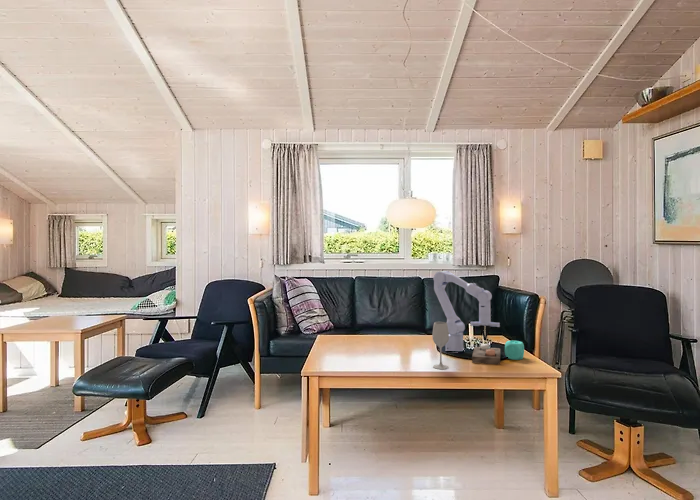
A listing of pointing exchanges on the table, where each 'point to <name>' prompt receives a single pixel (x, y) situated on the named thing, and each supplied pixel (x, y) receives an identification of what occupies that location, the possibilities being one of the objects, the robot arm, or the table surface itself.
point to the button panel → (481, 357)
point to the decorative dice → (514, 350)
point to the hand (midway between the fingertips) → (485, 340)
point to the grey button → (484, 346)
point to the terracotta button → (490, 352)
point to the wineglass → (440, 339)
